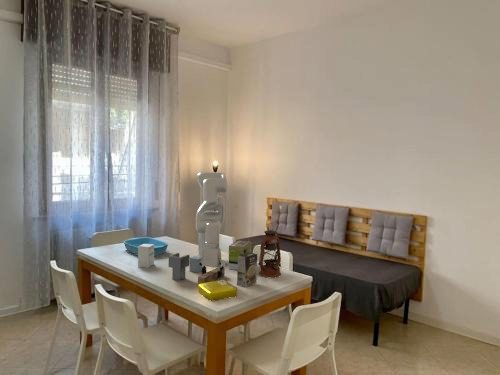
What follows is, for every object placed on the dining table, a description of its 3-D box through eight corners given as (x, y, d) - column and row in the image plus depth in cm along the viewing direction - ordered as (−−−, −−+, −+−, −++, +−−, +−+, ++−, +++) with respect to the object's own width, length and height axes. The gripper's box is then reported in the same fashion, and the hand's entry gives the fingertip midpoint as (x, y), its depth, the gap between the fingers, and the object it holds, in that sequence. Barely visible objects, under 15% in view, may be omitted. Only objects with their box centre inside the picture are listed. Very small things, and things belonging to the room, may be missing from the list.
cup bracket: (177, 275, 207) (177, 252, 206) (189, 277, 204) (189, 254, 203) (168, 279, 200) (168, 256, 199) (180, 282, 197) (180, 258, 196)
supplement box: (148, 267, 220) (149, 247, 219) (137, 266, 222) (137, 246, 221) (154, 264, 227) (154, 244, 226) (143, 263, 229) (143, 243, 228)
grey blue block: (194, 268, 220) (194, 255, 220) (202, 270, 218) (203, 257, 217) (189, 271, 216) (189, 257, 215) (198, 272, 213) (198, 259, 212)
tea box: (236, 262, 236) (237, 239, 235) (251, 264, 233) (252, 241, 232) (228, 269, 222) (228, 245, 221) (243, 271, 219) (244, 246, 218)
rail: (218, 275, 210) (218, 267, 210) (224, 276, 208) (224, 268, 208) (197, 285, 192) (197, 276, 192) (204, 287, 190) (204, 277, 190)
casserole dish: (118, 249, 262) (118, 239, 262) (147, 244, 278) (147, 235, 277) (143, 260, 236) (143, 249, 235) (173, 254, 251) (173, 244, 251)
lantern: (267, 280, 204) (268, 226, 201) (251, 274, 214) (253, 222, 211) (288, 274, 215) (290, 223, 212) (272, 269, 224) (274, 220, 222)
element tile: (197, 292, 184) (197, 282, 183) (223, 287, 192) (224, 278, 191) (210, 302, 171) (210, 292, 171) (238, 297, 179) (238, 287, 178)
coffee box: (245, 287, 191) (246, 257, 189) (236, 284, 195) (237, 255, 193) (256, 283, 198) (257, 254, 196) (247, 280, 202) (248, 251, 200)
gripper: (194, 244, 199) (194, 275, 200) (222, 248, 191) (221, 280, 192) (202, 242, 206) (202, 272, 207) (229, 245, 198) (228, 277, 199)
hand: (211, 276), depth 200 cm, fingers open, 9 cm apart
